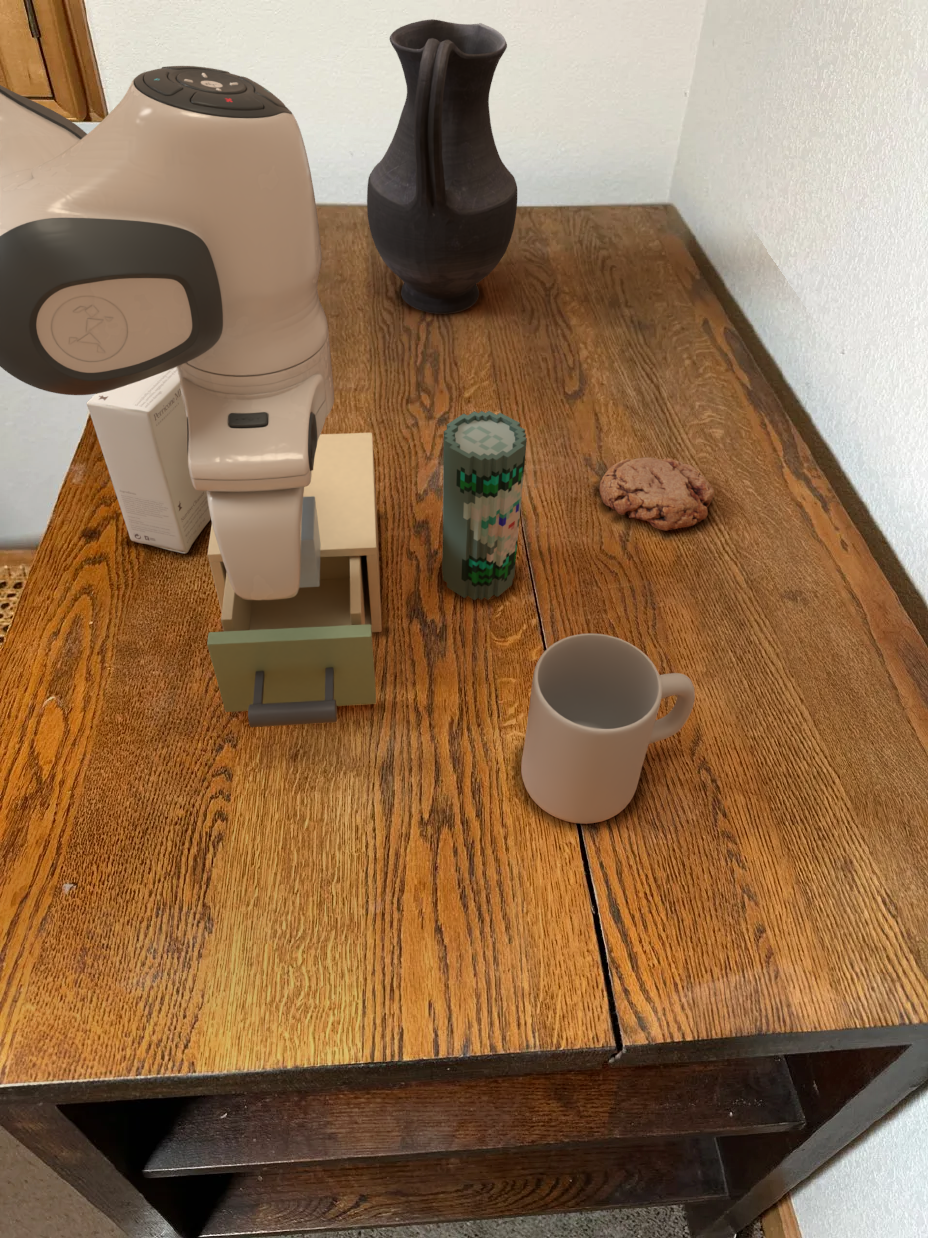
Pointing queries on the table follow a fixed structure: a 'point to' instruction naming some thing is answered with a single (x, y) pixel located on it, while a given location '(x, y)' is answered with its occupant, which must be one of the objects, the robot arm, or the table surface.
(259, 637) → the drawer
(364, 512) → the cabinet
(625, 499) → the cookie
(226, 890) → the table surface
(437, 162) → the pitcher
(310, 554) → the block
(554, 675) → the mug
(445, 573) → the can
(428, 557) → the table surface
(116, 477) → the cosmetic box
